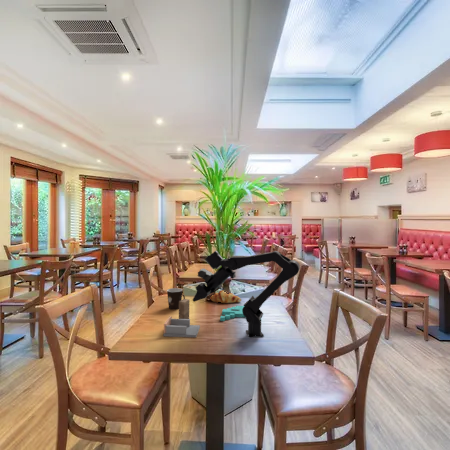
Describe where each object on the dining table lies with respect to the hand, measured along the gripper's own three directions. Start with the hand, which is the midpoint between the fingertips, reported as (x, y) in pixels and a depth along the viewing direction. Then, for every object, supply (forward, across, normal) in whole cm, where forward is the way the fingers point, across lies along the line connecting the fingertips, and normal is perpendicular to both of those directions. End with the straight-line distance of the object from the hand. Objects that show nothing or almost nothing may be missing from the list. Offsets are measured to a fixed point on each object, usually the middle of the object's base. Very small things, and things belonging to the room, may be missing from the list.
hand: (197, 298), depth 133 cm
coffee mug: (+25, -18, -6) cm, 31 cm away
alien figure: (-1, -22, +20) cm, 30 cm away
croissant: (+11, -41, +8) cm, 43 cm away
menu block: (+14, 0, +4) cm, 15 cm away
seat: (+11, +9, +7) cm, 16 cm away
